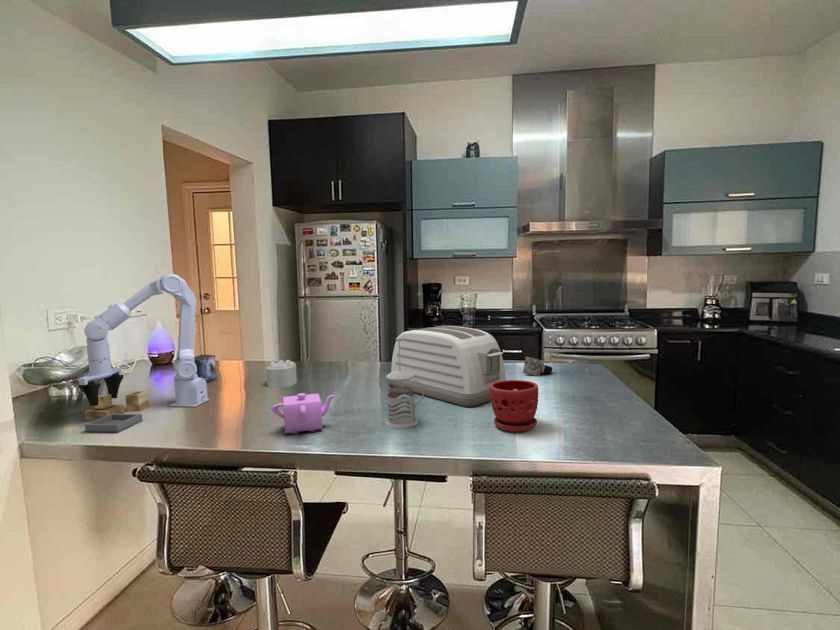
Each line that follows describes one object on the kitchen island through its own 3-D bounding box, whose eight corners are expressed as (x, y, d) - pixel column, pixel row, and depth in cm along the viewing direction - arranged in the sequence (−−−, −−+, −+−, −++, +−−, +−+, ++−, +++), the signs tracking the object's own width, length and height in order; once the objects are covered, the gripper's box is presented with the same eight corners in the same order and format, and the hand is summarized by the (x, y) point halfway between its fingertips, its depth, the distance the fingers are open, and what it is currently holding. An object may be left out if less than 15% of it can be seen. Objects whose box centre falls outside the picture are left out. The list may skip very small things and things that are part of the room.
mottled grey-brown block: (549, 377, 192) (551, 379, 182) (522, 371, 194) (522, 373, 185) (552, 361, 192) (554, 363, 182) (525, 355, 194) (526, 356, 185)
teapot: (335, 417, 140) (334, 385, 139) (341, 433, 127) (339, 397, 126) (273, 425, 135) (271, 391, 134) (272, 442, 122) (269, 404, 121)
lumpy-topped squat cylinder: (264, 387, 177) (262, 365, 176) (275, 379, 190) (274, 358, 189) (291, 387, 177) (289, 364, 176) (300, 378, 190) (299, 357, 189)
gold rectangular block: (113, 415, 147) (111, 394, 147) (105, 419, 144) (102, 397, 143) (104, 415, 148) (101, 393, 147) (95, 418, 145) (93, 396, 144)
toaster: (475, 411, 143) (474, 339, 140) (384, 386, 176) (382, 327, 173) (518, 396, 158) (518, 331, 156) (428, 375, 191) (426, 321, 189)
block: (149, 407, 155) (147, 391, 155) (139, 411, 151) (138, 395, 150) (136, 407, 156) (135, 391, 155) (126, 411, 151) (125, 395, 151)
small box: (200, 386, 182) (198, 359, 181) (186, 385, 183) (184, 359, 182) (217, 379, 192) (215, 354, 191) (203, 379, 193) (201, 354, 192)
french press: (386, 416, 140) (383, 334, 137) (424, 416, 139) (423, 333, 137) (382, 428, 130) (379, 340, 127) (424, 427, 130) (422, 339, 127)
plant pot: (537, 419, 134) (537, 379, 133) (538, 436, 121) (538, 391, 120) (492, 417, 137) (491, 377, 136) (488, 433, 124) (487, 389, 123)
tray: (142, 421, 141) (142, 414, 141) (117, 433, 131) (116, 425, 131) (112, 420, 142) (111, 413, 142) (85, 432, 132) (84, 424, 132)
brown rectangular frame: (124, 413, 149) (123, 404, 149) (106, 421, 142) (105, 411, 142) (103, 413, 150) (103, 404, 150) (85, 420, 143) (84, 411, 142)
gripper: (105, 354, 152) (110, 394, 153) (67, 364, 137) (72, 408, 139) (125, 354, 151) (130, 395, 152) (89, 364, 136) (94, 409, 138)
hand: (104, 401), depth 145 cm, fingers open, 7 cm apart
